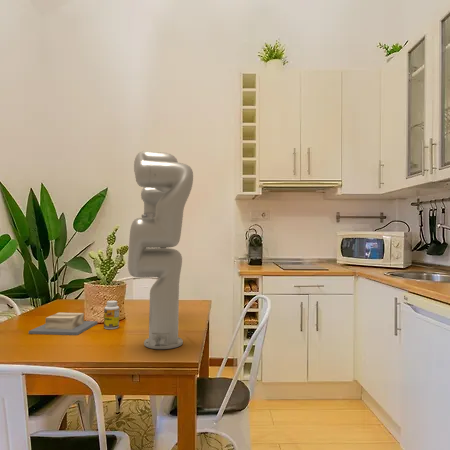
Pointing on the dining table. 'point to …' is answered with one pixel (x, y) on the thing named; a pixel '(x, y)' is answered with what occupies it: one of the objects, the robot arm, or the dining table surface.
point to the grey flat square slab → (73, 331)
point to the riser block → (64, 320)
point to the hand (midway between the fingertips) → (152, 258)
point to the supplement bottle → (111, 315)
